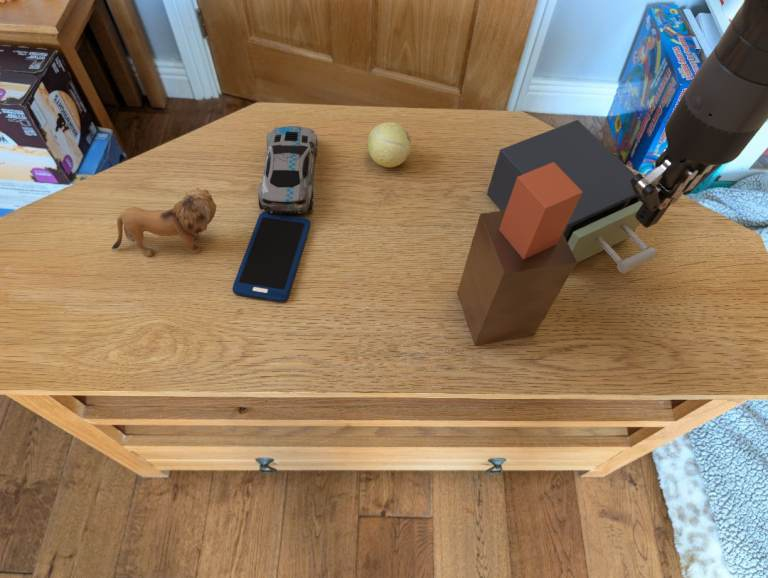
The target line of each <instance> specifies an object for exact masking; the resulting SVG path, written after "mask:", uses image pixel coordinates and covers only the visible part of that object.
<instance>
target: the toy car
mask: <svg viewBox="0 0 768 578" xmlns="http://www.w3.org/2000/svg"><path fill="white" fill-rule="evenodd" d="M266 150H267V151H266V158H265V163H264V170H263V171H264V172H263V175H262V182H261V183H260V184H259V185H258V191H257V192H258V197H257V198H258V199H257V200H258V206H259V209H260V210H263V212H267V213H272V214H275V213H278V214H286V215H294V214H296V215H303V214H306V213H307V212H308V211H313V210H314V203H315V201H314V200H315V196H314V195H315V193H314V185H313V184H314V173H315V163H316V157H317V156H318V134H317V133H315V130H313V129H312V128H309V127H303V126H302V127H301V126H300V125H286V126H279V127H274V128H272V130H271V131H269V132H268V133H267V135H266Z"/></svg>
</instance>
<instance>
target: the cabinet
mask: <svg viewBox="0 0 768 578" xmlns="http://www.w3.org/2000/svg"><path fill="white" fill-rule="evenodd" d="M552 162H554V163H555V164H556V165H557V166H558V167H559V168H560V169H561V170H562V171H563V172H564V173H565V174H566V175H567V176H568V177H569V178H570V179H571V180H572V181H573V182H574V183H575V184H576V185H577V186H578V188H579V189H580V190H581V191H582V192H583V193H582V195H581V197H580V199H579V201H578V203H577V205H576V207H575V209H574V211H573V213H572V215H571V217H570V219H569V221H568V223H567V225H566V227H565V229H564V231H563V234H564V236H565V238H566V236H567V234H568V232H569V230H570V228H571V226H573V225H575V224H578V223H580V222H582V221H584V220H586V219H588V218H591V217H593V216H595V215H597V214H599V213H602V212H604V211H606V210H608V209H610V208H613V207H615V206H617V205H619V204H621V203H624V202H626V201H628V200H630V199H631V200H630V202H629V203H628V205H627V206H626V207H628V206H630V205H633V204H635V203H637V202H639V201H640V200H639V199H638V198H637V197H636V195H635V193H634V190H633V187H632V184H631V179H632V178H633V177H634V176H635V175H636V174H635V172H633V171H632V170H631V169H630V168H629V167H628V166H627V165H626V164H625V163H624V162H622V160H621V159H620V158H618V157H617V156H616V155H615V154H614V153H613V152H612V151H611V150H610V149H609V148H608V147H607V146H606V145H605V144H604V143H603V142H602V141H601V140H599V139H598V137H596V136H595V135H594V134H593V133H592V132H591V131H590V130H589V129H588V128H587V127H586V126H585V125H584V124H582V122H581V121H580V120H578V119H576V120H573V121H570V122H568V123H565V124H562V125H560V126H558V127H555V128H552V129H551V130H550V129H549V130H547V131H545V132H542V133H539V134H537V135H533V136H532V137H529V138H526V139H524V140H521V141H519V142H516V143H514V144H510V145H508V146H505V147H503V148H500V149H499V152H498V155H497V158H496V162H495V165H494V169H493V171H492V175H491V179H490V182H489V184H488V189H487V193H486V195H487V196H488V197H489V198H490V199H491V201H492V203H494V204H495V206H496V207H497V208H498V209H499V211H504V210H506V208H507V205H508V202H509V200H510V197H511V194H512V191H513V188H514V185H515V182H516V180H517V177H518V176H520V175H523V174H525V173H528V172H530V171H533V170H535V169H538V168H540V167H543V166H545V165H548V164H550V163H552Z"/></svg>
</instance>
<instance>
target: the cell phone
mask: <svg viewBox="0 0 768 578" xmlns="http://www.w3.org/2000/svg"><path fill="white" fill-rule="evenodd" d="M310 228H311V220H310V219H309V218H307V217H303V216H298V215H293V214H287V213H286V214H285V213H283V214H281V213H279V214H278V213H275V214H272V213H267V212H265V211H262V212H261V213H259V215H258V218H257V220H256V222H255V225H254V227H253V231H252V233H251V236H250V238H249V242H248V244H247V247H246V249H245V251H244V255H243V258H242V260H241V263H240V266H239V267H238V271H237V274H236V277H235V279H234V282H233V283H232V284H233V285H232V289H231V290H232V292H233V293H234V295H237V296H242V297H247V298H254V299H260V300H266V301H272V302H277V303H284V302H287V301H288V299H289V297H290V294H291V291H292V289H293V284H294V282H295V278H296V275H297V271H298V269H299V265H300V262H301V258H302V256H303V252H304V248H305V246H306V241H307V239H308V236H309V232H310V230H311V229H310Z"/></svg>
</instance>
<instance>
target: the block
mask: <svg viewBox="0 0 768 578" xmlns="http://www.w3.org/2000/svg"><path fill="white" fill-rule="evenodd" d="M582 193H583V192H582V191H581V190H580V189H579V188H578V186H577V185H576V184H575V183H574V182H573V181H572V180H571V179H570V178H569V177H568V176H567V175H566V174H565V173H564V172H563V171H562V170H561V169H560V168H559V167H558V166H557V165H556V164H555V163H554V162H552V163H550V164H548V165H545V166H543V167H540V168H538V169H535V170H533V171H530V172H528V173H525V174H523V175H520V176H518V177H517V180H516V182H515V185H514V188H513V191H512V194H511V197H510V200H509V202H508V205H507V208H506V211H505V214H504V217H503V220H502V222H501V225H500V228H499V231H500V232H501V233H502V234H503V236H504V237H505V238H506V239H507V240H508V242H509V243H510V244H511V245H512V246H513V248H514V249H515V250H516V251H517V252H518V254H519V255H520V256H521V257H522V259H523V260H524V259H526V258H528V257H530V256H533V255H535V254H537V253H539V252H541V251H543V250H545V249H548V248H550V247H552V246H554V245H556V244H557V243H558V241H559V239H560V237H561V235H562V233H563V231H564V229H565V227H566V225H567V223H568V221H569V219H570V217H571V215H572V213H573V211H574V209H575V207H576V205H577V203H578V201H579V199H580V197H581V195H582Z"/></svg>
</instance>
